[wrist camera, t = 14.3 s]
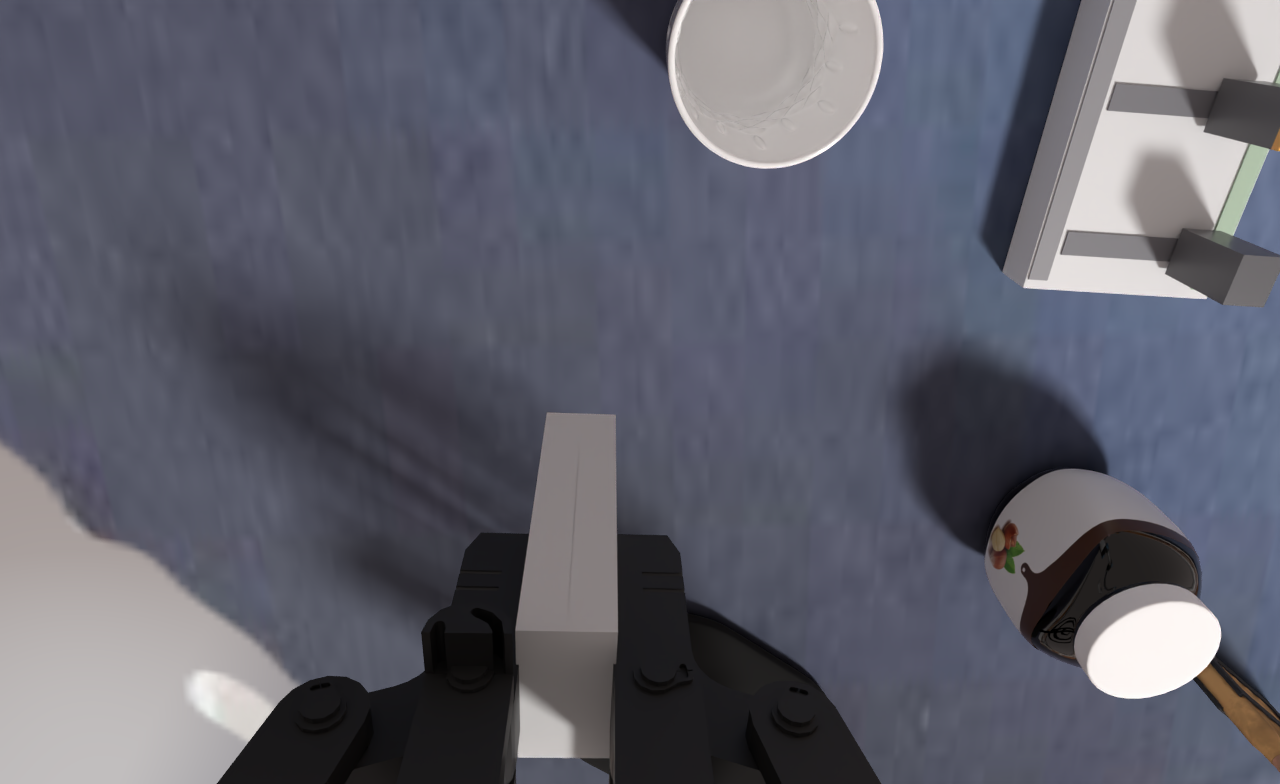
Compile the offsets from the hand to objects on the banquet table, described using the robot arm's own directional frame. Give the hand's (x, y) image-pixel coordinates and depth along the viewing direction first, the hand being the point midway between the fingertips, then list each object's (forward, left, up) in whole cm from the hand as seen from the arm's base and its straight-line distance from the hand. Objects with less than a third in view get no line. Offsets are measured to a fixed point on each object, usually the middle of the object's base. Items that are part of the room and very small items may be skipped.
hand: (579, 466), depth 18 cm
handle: (0, +30, -23) cm, 38 cm away
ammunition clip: (+32, +47, -26) cm, 63 cm away
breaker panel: (-7, +27, -26) cm, 38 cm away
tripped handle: (-7, +30, -23) cm, 38 cm away
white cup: (-8, +6, -26) cm, 28 cm away
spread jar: (+20, +31, -26) cm, 46 cm away
